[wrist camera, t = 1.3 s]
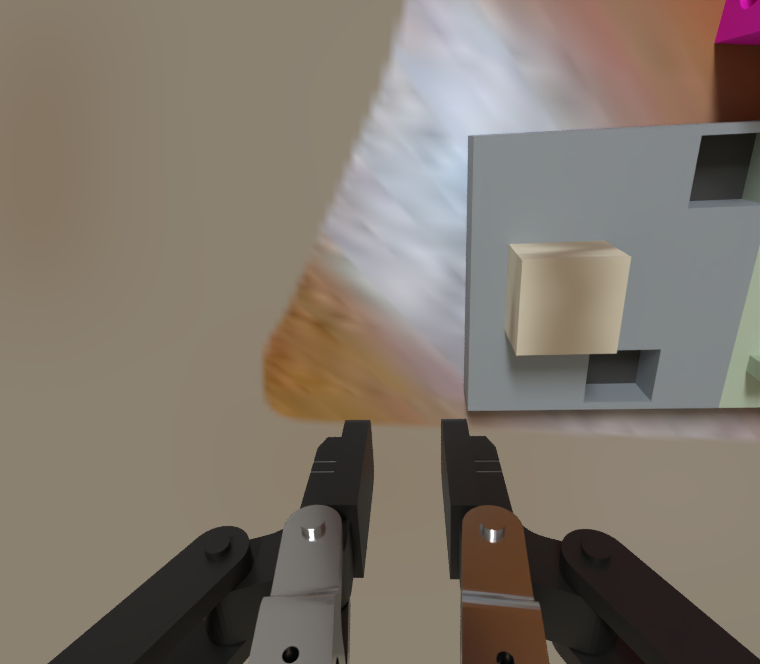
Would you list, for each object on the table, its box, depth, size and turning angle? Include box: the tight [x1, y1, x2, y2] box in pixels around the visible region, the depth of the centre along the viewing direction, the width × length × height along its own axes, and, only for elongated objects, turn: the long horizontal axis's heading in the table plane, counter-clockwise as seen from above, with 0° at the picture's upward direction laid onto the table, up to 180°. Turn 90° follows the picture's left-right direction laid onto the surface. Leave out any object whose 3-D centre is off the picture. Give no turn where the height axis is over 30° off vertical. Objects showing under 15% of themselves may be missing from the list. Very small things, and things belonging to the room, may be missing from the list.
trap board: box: [464, 120, 760, 411], centre depth 27 cm, size 22×16×4 cm
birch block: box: [504, 241, 631, 356], centre depth 26 cm, size 5×5×4 cm
